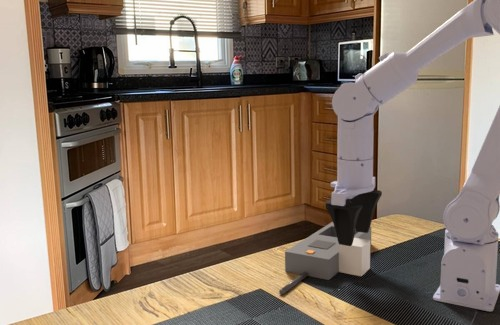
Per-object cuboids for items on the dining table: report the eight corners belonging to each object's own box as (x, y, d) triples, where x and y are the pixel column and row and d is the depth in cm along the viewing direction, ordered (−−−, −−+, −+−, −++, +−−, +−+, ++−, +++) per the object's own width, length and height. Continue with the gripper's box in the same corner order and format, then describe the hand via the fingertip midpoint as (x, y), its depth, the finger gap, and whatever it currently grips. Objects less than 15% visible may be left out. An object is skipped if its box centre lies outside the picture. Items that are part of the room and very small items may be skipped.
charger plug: (361, 276, 83) (361, 247, 83) (338, 271, 86) (338, 243, 85) (369, 268, 87) (370, 240, 86) (347, 264, 89) (347, 236, 88)
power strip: (304, 300, 75) (304, 277, 74) (258, 290, 79) (257, 267, 79) (371, 244, 99) (371, 225, 98) (332, 238, 103) (332, 220, 103)
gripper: (348, 150, 91) (347, 223, 93) (313, 162, 79) (313, 246, 81) (387, 152, 87) (385, 229, 90) (356, 166, 75) (355, 254, 78)
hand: (354, 238), depth 85 cm, fingers open, 7 cm apart
